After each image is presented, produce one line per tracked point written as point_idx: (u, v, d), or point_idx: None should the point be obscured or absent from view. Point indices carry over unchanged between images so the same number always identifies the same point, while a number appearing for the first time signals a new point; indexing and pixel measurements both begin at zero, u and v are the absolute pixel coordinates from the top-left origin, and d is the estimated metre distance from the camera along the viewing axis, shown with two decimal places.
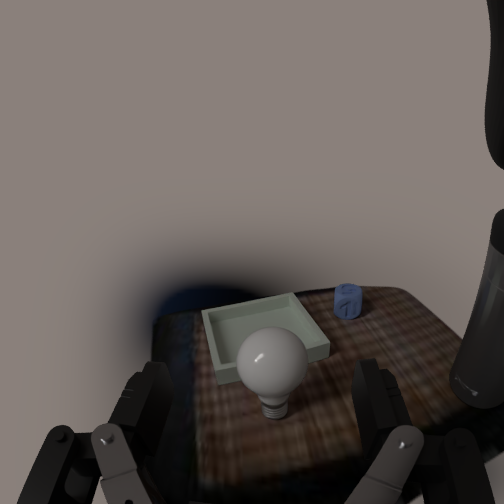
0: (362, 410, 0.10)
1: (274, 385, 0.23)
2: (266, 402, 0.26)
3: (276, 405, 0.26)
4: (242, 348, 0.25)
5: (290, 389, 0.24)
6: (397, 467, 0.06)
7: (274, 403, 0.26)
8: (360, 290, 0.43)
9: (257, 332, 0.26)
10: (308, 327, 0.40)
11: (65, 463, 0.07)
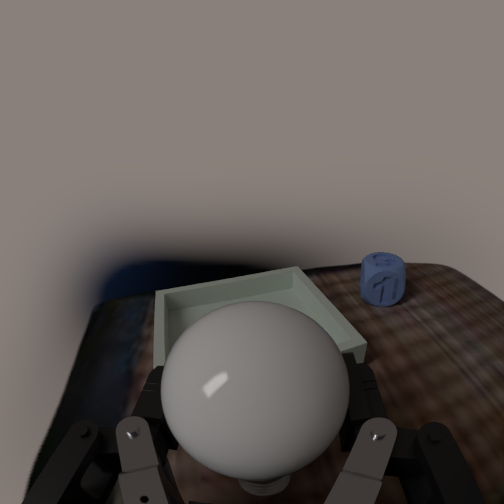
0: None
1: (255, 466, 0.07)
2: None
3: (266, 480, 0.10)
4: (170, 356, 0.09)
5: (301, 467, 0.07)
6: (373, 459, 0.07)
7: (260, 480, 0.10)
8: (402, 261, 0.27)
9: (213, 313, 0.09)
10: (325, 318, 0.24)
11: (84, 459, 0.07)
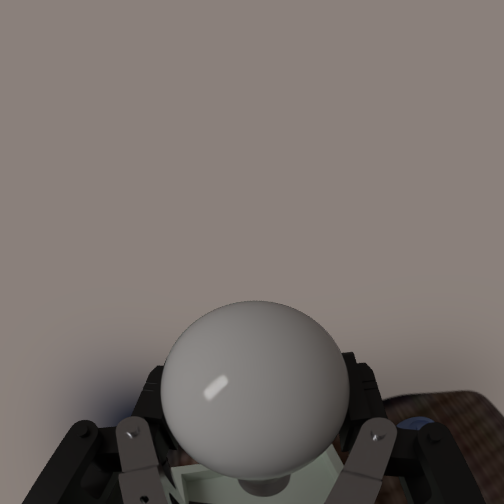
0: None
1: (255, 466, 0.07)
2: None
3: (266, 480, 0.10)
4: (170, 355, 0.09)
5: (301, 468, 0.07)
6: (373, 459, 0.07)
7: (260, 480, 0.10)
8: None
9: (213, 313, 0.09)
10: None
11: (84, 459, 0.07)
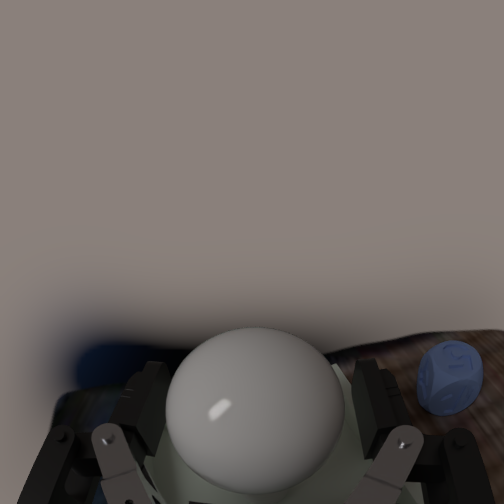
0: (362, 410, 0.10)
1: (255, 484, 0.07)
2: None
3: None
4: (174, 381, 0.09)
5: (299, 483, 0.08)
6: (397, 467, 0.06)
7: None
8: (478, 357, 0.15)
9: (214, 341, 0.10)
10: None
11: (65, 463, 0.07)
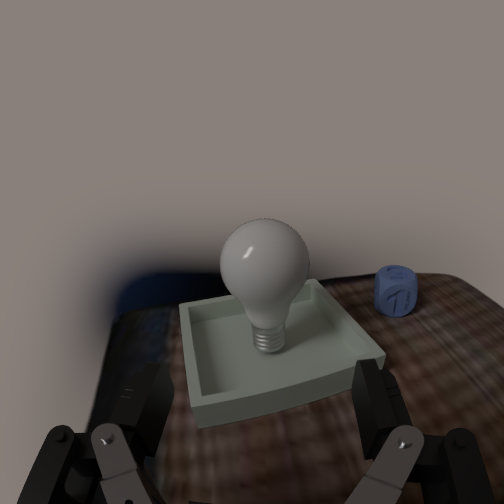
0: (362, 410, 0.10)
1: (266, 280, 0.19)
2: (257, 322, 0.22)
3: (270, 327, 0.22)
4: (227, 240, 0.21)
5: (287, 292, 0.20)
6: (397, 467, 0.06)
7: (267, 323, 0.22)
8: (414, 274, 0.28)
9: None
10: (345, 330, 0.24)
11: (65, 463, 0.07)
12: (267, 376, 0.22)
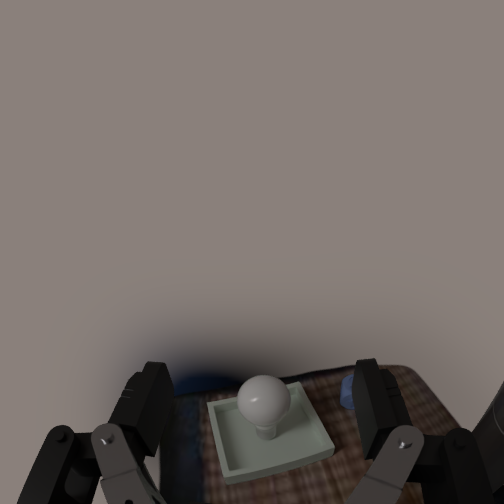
0: (362, 410, 0.10)
1: (264, 419, 0.30)
2: (259, 428, 0.33)
3: (267, 430, 0.34)
4: (241, 392, 0.32)
5: (276, 421, 0.31)
6: (397, 467, 0.06)
7: (265, 429, 0.33)
8: None
9: (252, 380, 0.33)
10: (314, 425, 0.36)
11: (65, 463, 0.07)
12: (265, 454, 0.33)
